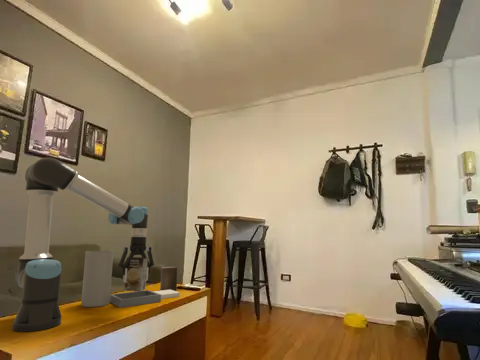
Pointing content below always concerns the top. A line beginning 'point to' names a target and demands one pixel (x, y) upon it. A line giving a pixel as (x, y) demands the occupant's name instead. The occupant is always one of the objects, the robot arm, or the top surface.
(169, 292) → the board
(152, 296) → the bin
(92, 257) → the cylinder vase
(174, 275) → the brown box
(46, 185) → the robot arm
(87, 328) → the top surface
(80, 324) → the top surface
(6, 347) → the top surface
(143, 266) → the coffee box
